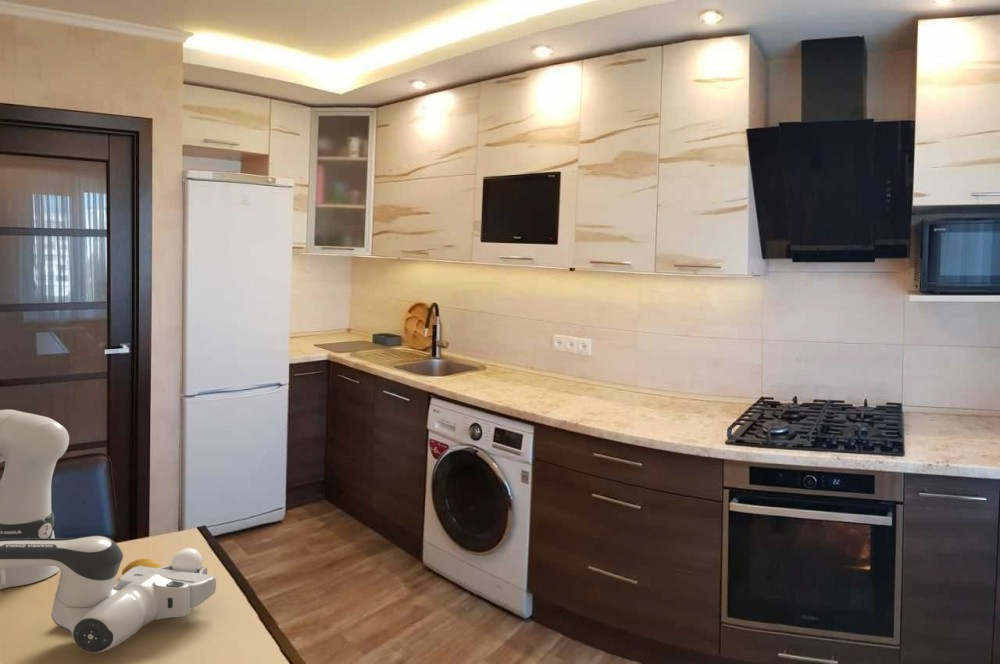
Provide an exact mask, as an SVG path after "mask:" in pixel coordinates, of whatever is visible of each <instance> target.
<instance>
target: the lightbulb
mask: <svg viewBox="0 0 1000 664" xmlns="http://www.w3.org/2000/svg"><path fill="white" fill-rule="evenodd" d="M202 556H203V555H202V554H201V552H200V551H199V550H197V549H196V548H192V547H185V548H183V549H181V550H179V551H177V552H176V554H175V555H174V556H173V558H172V561H171V563H172V569H173V570H175V571H183V572H190V573H197V569H199V568H200V567H203V561H204V560H203V557H202Z"/></svg>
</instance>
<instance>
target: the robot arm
mask: <svg viewBox="0 0 1000 664" xmlns="http://www.w3.org/2000/svg"><path fill="white" fill-rule="evenodd" d="M69 444H70V435H69V432H68V430H67V429H66V427H65V426H64V425H62V424H60V423H59V422H58V421H56V420H55V419H52V418H50V417H48V416H45V415H39V414H34V413H30V412H24V411H20V410H16V409H0V464H1V463H2V462H5V463H4V469H3V474H2V477H1V478H0V590H3V589H6V588H12V587H18V586H24V585H30V584H34V583H36V582H41V581H43V580H46V579H48V578H49V577H52V576H54V575H55V574H57V573H58V572H59V571H60V575H59V580H58V585H57V589H56V590H55V594H54V595H55V596H54V600H53V604H52V610H51V619H52V621H53V622H54V623H55V625H57V626H58V627H59V628H60V629H62V630H64V631H65V632H67V633H70V634H71V635H72V637H73V641H74V643H75V644H76V646H77V647H78V648H79V649H81V650H82V651H84V652H87V653H93V654H96V653H101V652H106V651H108V650H110V649H112V648H114V647H116V646H118V645H120V644H121V643H123V642H125V641H127V640H128V639H130V638H131V637H132V636H133V635H135V634H136V633H137V632H138V631H139V630H140V629H141V627H142V626H145V625H147V624H149V623H151V622H152V621H158V620H161V619H168V618H169V619H170V618H181V617H186V616H187V615H189V613H190V610H191V609H193V608H194V609H195V608H197V607H199V605H200V606H201V604H202V603H204V602H205V601H207V600H208V599H209V598H210V597H211V596H213V595H214V594H215V593H216V590H217V581H216V576H215V575H212V574H208V567H203V566H201V567H200V568H199V569H197V573H190V572H183V571H175V570H173V569H172V562H171V563H170V564H169V565H165V566H161V567H160V568H152V567H144V566H137V567H133V568H132V569H130V570H129V571H127V572H126V573H125V574H123V575H122V574H121V576H120V577H119V578H118V581H116V578H117V575H118V572H119V570H120V566H121V563H122V561H123V558H124V554H123V551H122V549H121V548H120V546H119V545H118V544H117V543H116V541H114V540H113V539H112V538H110V537H108V536H105V535H86V536H77V537H68V538H67V537H63V538H62V537H61V538H60V537H58V538H57V537H55V531H54V527H55V516H54V511H53V510H52V479H53V475H54V471H55V468H56V464H57V461H58V460H59V459H60V458H61V457H63V455H64V454H65V453H66V451H67V449H68V447H69Z"/></svg>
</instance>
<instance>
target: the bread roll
mask: <svg viewBox="0 0 1000 664" xmlns="http://www.w3.org/2000/svg"><path fill="white" fill-rule="evenodd" d="M137 566H144V567H152V568H160V567H162V565H161V564H159V563H157V562H155V561H154V560H152V559H149V558H139V559H136V560H133V561H131V562H130V563H128V564H127V565H126V566H125V567H124V568H123V570H122V571H121V576H122V575H123V574H125V573H126V572H127V571H129V570H130V569H132V568H133V567H137Z"/></svg>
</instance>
